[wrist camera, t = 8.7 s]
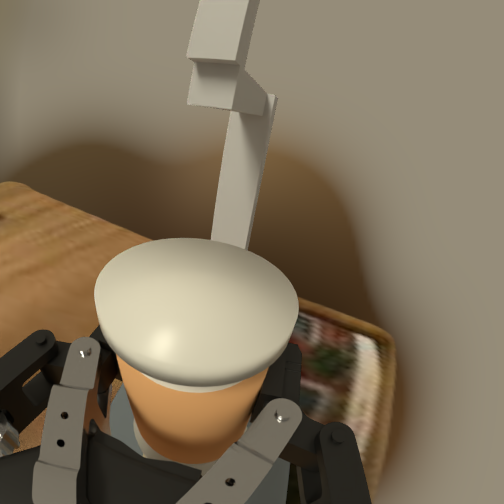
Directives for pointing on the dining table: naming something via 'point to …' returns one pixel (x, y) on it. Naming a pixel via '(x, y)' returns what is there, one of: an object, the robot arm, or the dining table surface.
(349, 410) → the dining table surface
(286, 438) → the robot arm
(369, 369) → the dining table surface
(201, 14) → the stand
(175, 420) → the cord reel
